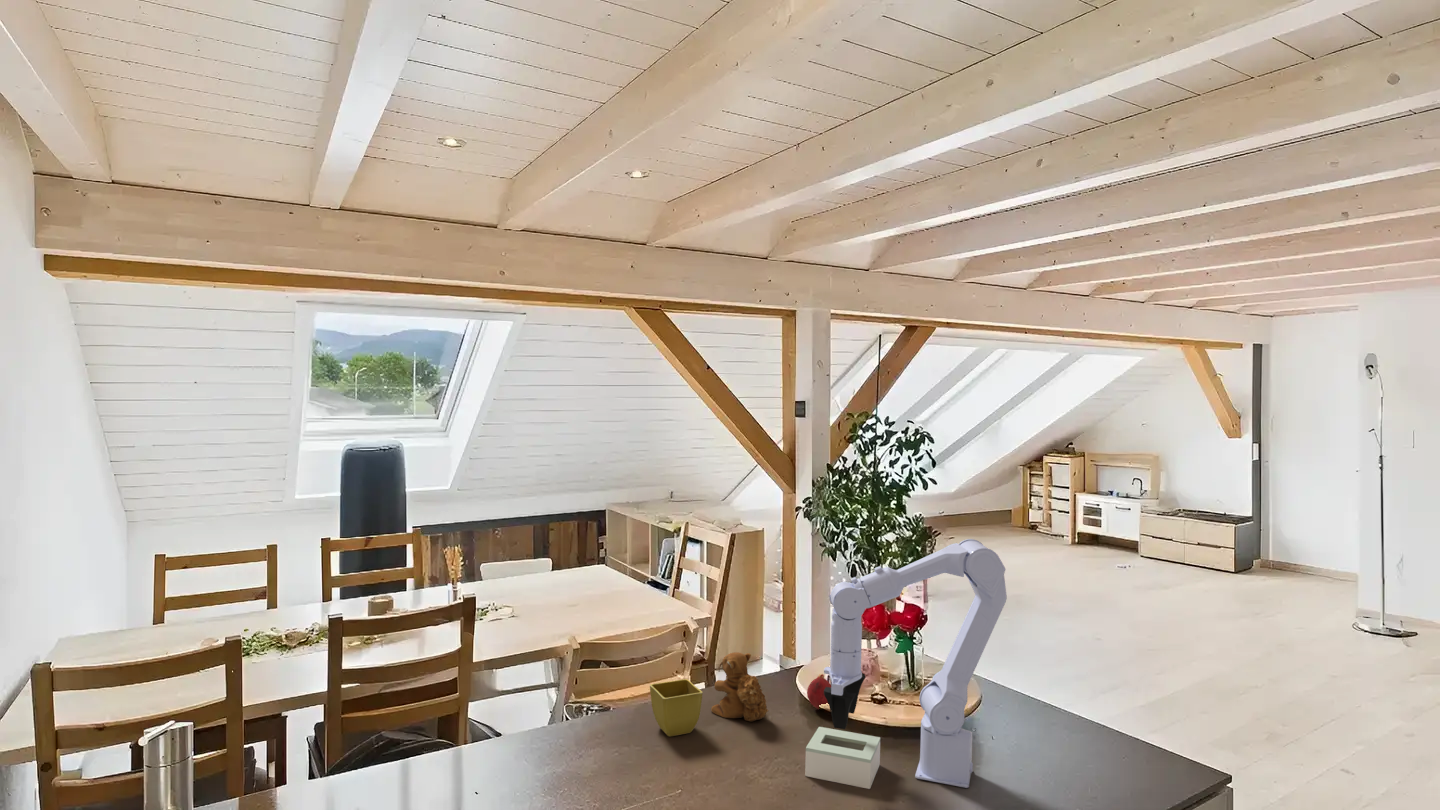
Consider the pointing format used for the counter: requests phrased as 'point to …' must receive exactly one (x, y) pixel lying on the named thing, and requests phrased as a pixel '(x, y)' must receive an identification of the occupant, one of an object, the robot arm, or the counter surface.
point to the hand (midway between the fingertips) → (844, 719)
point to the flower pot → (676, 706)
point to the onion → (817, 691)
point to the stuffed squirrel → (739, 690)
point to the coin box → (843, 757)
